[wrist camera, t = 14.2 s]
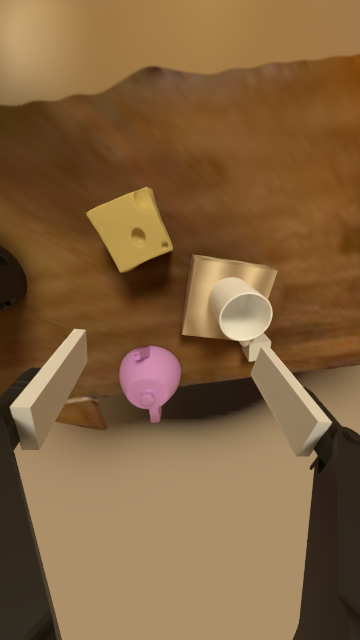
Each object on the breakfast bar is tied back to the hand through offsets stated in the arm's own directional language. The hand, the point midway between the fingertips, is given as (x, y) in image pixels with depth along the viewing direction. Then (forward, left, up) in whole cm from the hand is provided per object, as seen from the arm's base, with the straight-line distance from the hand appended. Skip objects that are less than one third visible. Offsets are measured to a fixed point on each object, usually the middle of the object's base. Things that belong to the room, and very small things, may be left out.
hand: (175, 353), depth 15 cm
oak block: (+12, -5, -32) cm, 34 cm away
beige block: (+23, -16, -32) cm, 42 cm away
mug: (+12, -4, -26) cm, 29 cm away
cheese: (-7, +6, -32) cm, 33 cm away
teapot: (-2, -27, -32) cm, 42 cm away
